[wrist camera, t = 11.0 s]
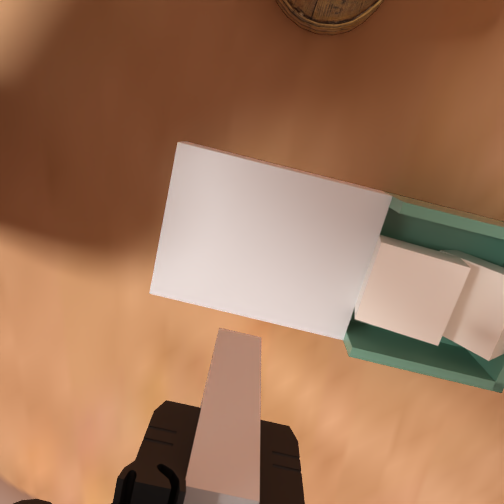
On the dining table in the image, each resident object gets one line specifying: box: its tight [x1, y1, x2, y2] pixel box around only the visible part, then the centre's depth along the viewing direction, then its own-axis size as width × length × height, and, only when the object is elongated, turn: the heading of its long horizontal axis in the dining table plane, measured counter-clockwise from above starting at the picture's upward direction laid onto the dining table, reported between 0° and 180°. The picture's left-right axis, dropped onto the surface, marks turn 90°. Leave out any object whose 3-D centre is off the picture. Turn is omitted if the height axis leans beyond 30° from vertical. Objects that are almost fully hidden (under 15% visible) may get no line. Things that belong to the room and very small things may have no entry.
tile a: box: [354, 235, 471, 346], centre depth 30 cm, size 6×6×3 cm
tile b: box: [440, 250, 504, 361], centre depth 31 cm, size 6×6×3 cm
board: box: [149, 141, 393, 340], centre depth 33 cm, size 16×12×3 cm
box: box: [343, 191, 504, 393], centre depth 32 cm, size 12×12×6 cm
